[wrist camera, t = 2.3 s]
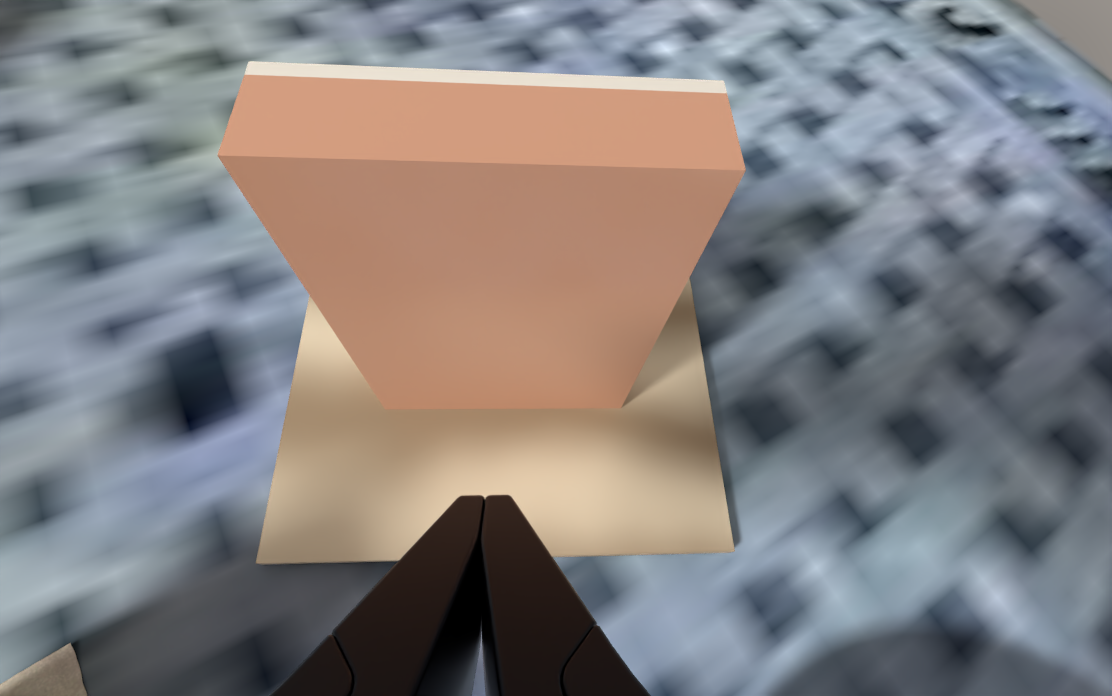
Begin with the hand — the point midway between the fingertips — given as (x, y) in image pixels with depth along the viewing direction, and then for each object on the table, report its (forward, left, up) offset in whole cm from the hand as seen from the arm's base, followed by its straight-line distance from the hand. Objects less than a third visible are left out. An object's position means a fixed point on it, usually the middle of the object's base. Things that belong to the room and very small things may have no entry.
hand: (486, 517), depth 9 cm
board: (+9, -8, -13) cm, 18 cm away
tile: (+6, -5, -12) cm, 15 cm away
